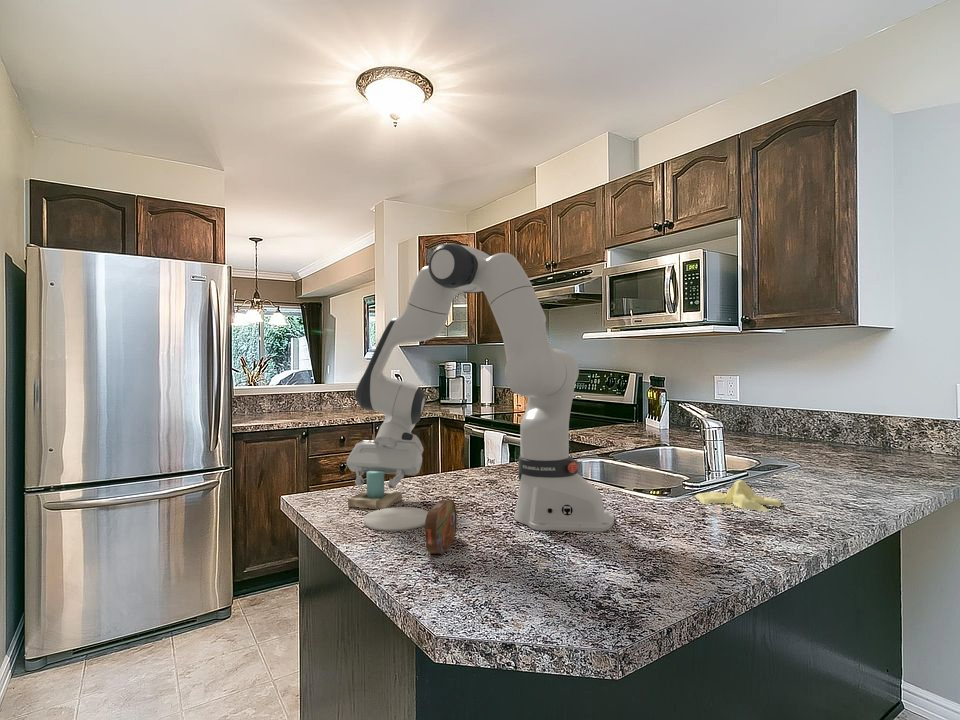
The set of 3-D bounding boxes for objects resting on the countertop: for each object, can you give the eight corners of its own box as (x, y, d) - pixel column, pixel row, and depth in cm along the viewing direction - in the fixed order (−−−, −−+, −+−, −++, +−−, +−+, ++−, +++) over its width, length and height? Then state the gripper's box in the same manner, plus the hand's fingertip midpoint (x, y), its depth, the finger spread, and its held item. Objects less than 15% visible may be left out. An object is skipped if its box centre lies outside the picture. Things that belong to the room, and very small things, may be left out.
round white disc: (440, 514, 131) (440, 509, 131) (413, 533, 117) (413, 528, 117) (383, 509, 136) (383, 505, 136) (351, 527, 121) (351, 522, 121)
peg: (387, 501, 143) (387, 470, 143) (379, 506, 139) (379, 474, 139) (372, 500, 144) (371, 469, 144) (363, 504, 140) (363, 473, 140)
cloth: (681, 500, 144) (681, 476, 144) (730, 491, 152) (729, 469, 152) (758, 522, 124) (758, 495, 124) (810, 511, 132) (809, 485, 132)
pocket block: (402, 499, 145) (402, 492, 145) (384, 509, 135) (384, 501, 135) (368, 497, 148) (367, 489, 148) (348, 506, 138) (348, 498, 138)
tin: (438, 561, 101) (438, 515, 101) (422, 560, 102) (421, 514, 102) (458, 534, 116) (457, 494, 116) (443, 534, 117) (443, 494, 117)
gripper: (353, 433, 151) (334, 476, 142) (422, 436, 145) (406, 481, 136) (362, 446, 156) (343, 489, 146) (429, 450, 149) (414, 495, 140)
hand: (374, 485), depth 141 cm, fingers open, 8 cm apart
